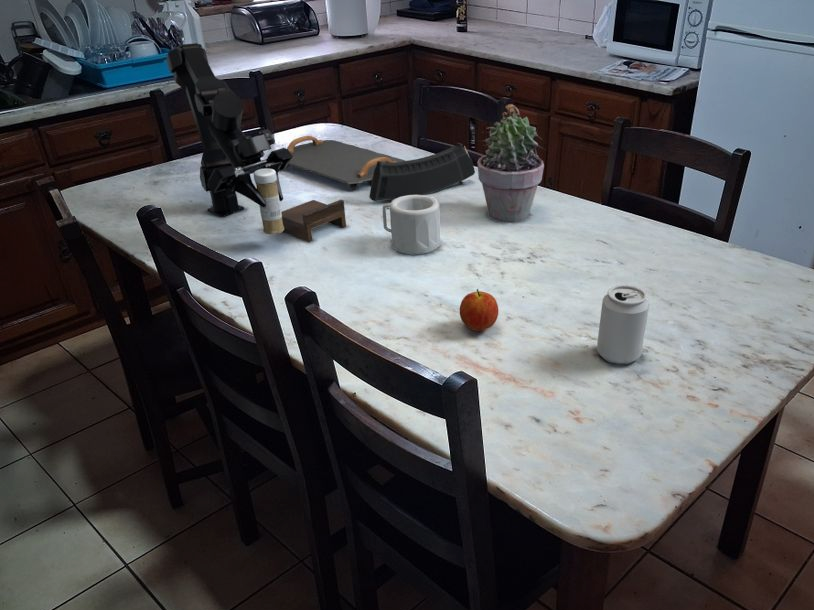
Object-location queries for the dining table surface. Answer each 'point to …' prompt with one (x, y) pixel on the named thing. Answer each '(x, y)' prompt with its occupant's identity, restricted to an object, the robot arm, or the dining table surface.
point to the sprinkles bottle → (269, 201)
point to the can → (622, 324)
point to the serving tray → (336, 160)
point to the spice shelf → (312, 218)
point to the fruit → (479, 310)
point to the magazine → (421, 174)
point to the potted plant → (510, 168)
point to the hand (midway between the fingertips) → (273, 203)
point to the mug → (414, 224)
